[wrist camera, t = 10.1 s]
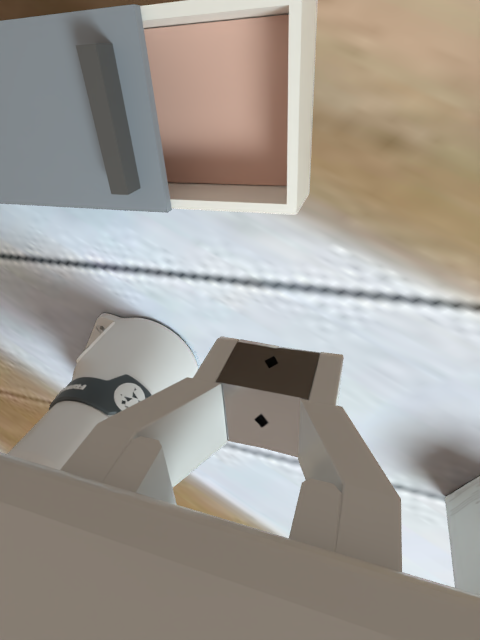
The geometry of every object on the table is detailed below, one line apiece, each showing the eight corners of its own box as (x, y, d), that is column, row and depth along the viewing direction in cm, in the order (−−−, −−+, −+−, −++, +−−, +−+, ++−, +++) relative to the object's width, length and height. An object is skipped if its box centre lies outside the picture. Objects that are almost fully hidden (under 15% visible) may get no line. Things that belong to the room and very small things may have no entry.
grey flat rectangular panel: (139, 5, 26) (116, 1, 24) (171, 209, 34) (156, 220, 32) (-71, 31, 32) (-106, 29, 30) (-3, 200, 40) (-26, 209, 38)
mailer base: (317, -3, 28) (302, -14, 23) (309, 193, 36) (296, 214, 31) (87, 23, 34) (37, 18, 29) (123, 186, 41) (88, 204, 37)
